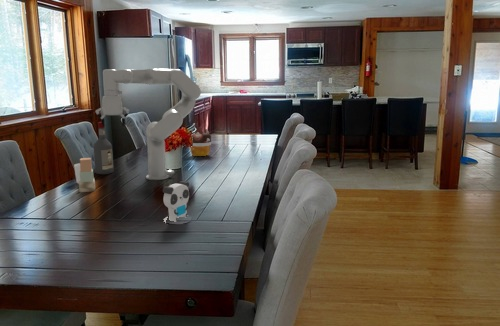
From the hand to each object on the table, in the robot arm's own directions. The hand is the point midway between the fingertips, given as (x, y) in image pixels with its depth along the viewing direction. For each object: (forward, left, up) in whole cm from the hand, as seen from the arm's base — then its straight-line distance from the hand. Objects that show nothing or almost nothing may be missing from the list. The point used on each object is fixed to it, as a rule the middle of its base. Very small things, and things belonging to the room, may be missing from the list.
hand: (113, 126), depth 224 cm
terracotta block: (+14, +14, -20) cm, 28 cm away
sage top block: (+14, +14, -26) cm, 32 cm away
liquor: (+7, -24, -31) cm, 39 cm away
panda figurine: (-23, +73, -31) cm, 82 cm away
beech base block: (+14, +14, -30) cm, 36 cm away
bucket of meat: (-58, -63, -31) cm, 91 cm away
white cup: (+17, -2, -31) cm, 35 cm away
